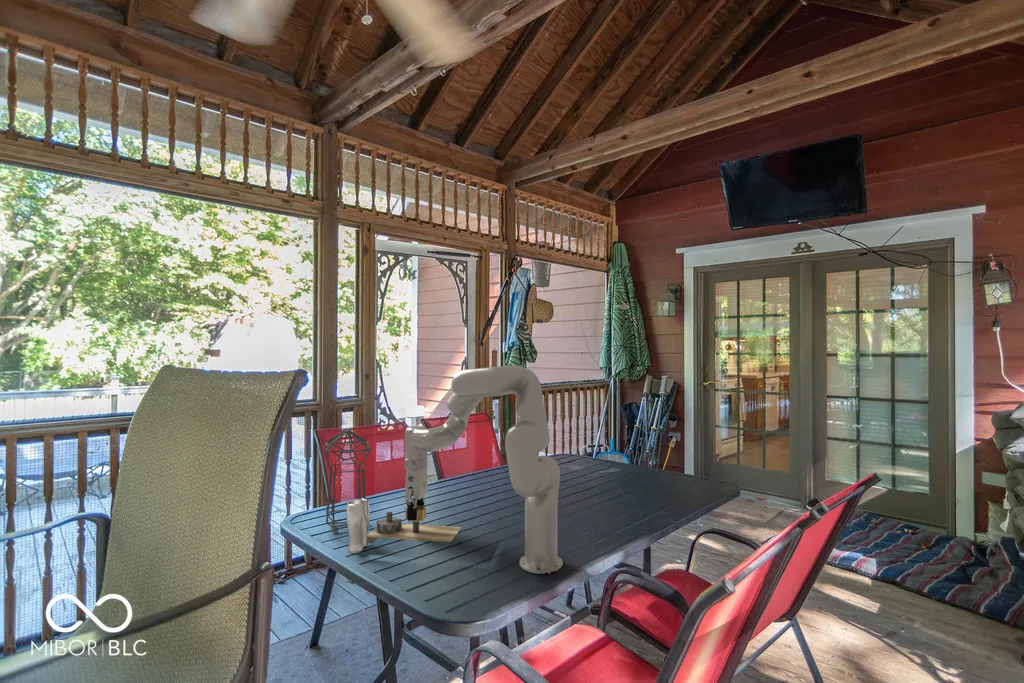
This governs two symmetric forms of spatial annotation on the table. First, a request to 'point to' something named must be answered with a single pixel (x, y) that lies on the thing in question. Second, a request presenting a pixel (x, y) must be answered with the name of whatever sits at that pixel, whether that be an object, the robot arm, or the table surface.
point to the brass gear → (418, 513)
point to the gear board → (411, 531)
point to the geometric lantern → (337, 438)
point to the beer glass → (358, 524)
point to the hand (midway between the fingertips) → (415, 515)
